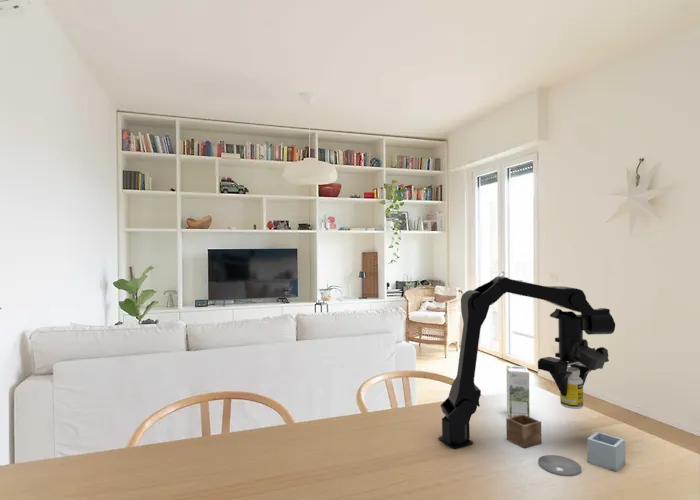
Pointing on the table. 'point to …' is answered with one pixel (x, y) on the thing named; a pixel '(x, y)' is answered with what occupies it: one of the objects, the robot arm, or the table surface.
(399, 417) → the table surface
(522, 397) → the syrup box
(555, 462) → the coaster
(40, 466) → the table surface
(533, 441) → the walnut box
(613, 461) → the slate cup
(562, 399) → the supplement bottle
